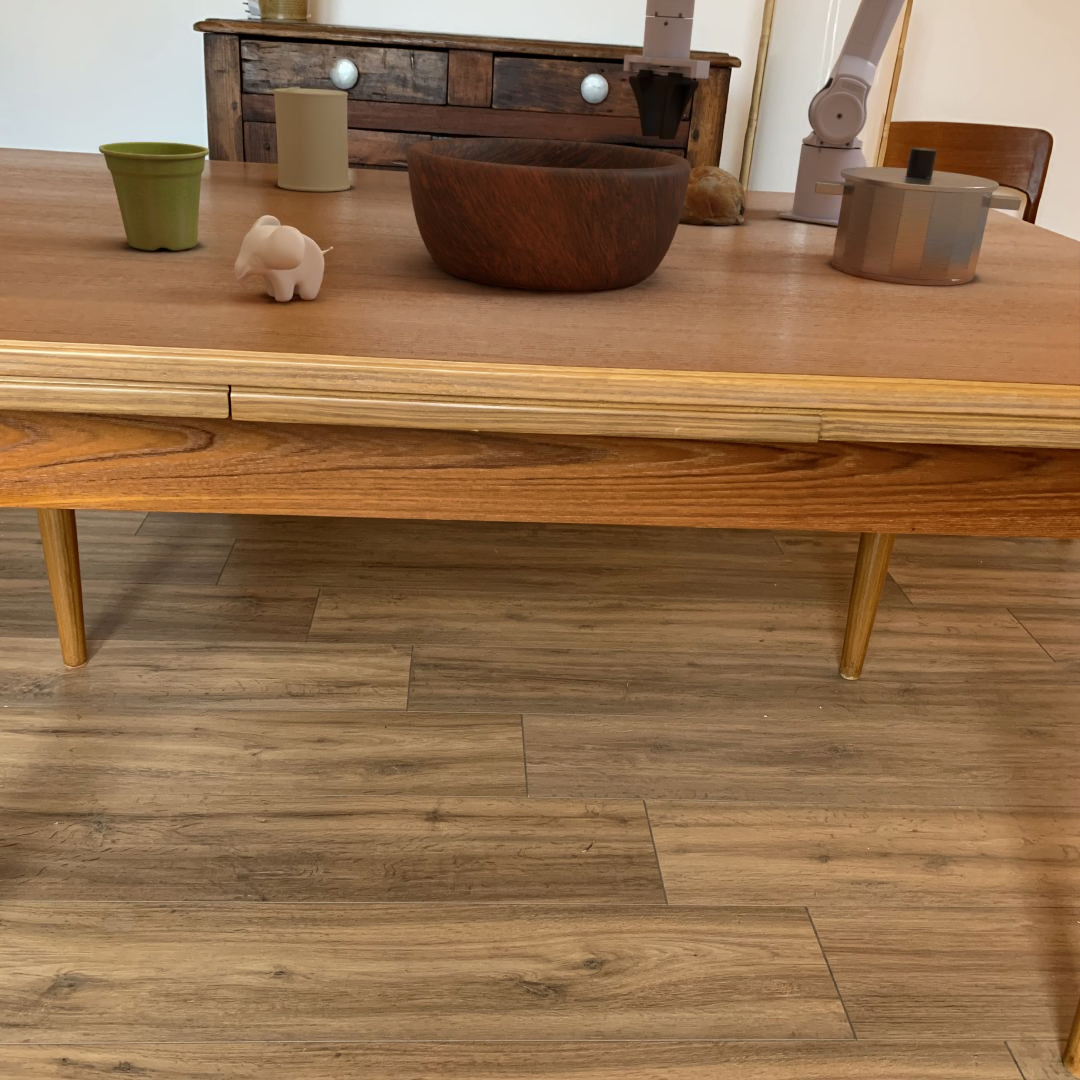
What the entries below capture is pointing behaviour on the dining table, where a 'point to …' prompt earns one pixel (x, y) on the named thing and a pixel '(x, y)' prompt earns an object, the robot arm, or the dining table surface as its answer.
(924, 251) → the pot
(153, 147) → the plant pot
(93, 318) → the dining table surface
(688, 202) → the bread roll
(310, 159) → the can
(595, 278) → the wooden bowl
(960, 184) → the pot lid
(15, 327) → the dining table surface
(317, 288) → the elephant figurine
